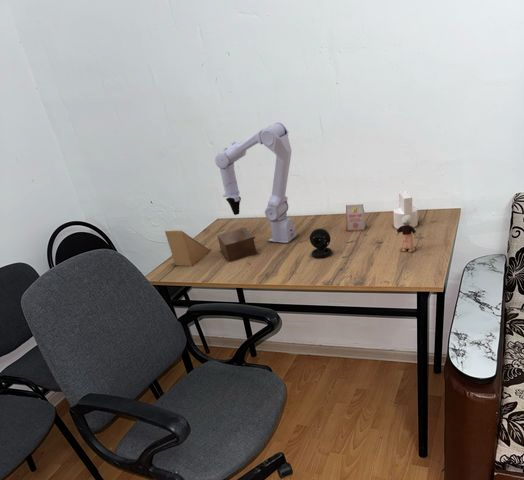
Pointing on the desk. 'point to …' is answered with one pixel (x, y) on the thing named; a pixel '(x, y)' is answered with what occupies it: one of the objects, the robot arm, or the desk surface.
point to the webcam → (320, 243)
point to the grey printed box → (355, 217)
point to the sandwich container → (185, 248)
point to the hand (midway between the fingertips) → (236, 214)
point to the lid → (235, 236)
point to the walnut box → (238, 249)
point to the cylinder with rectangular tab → (405, 210)
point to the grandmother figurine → (407, 234)
